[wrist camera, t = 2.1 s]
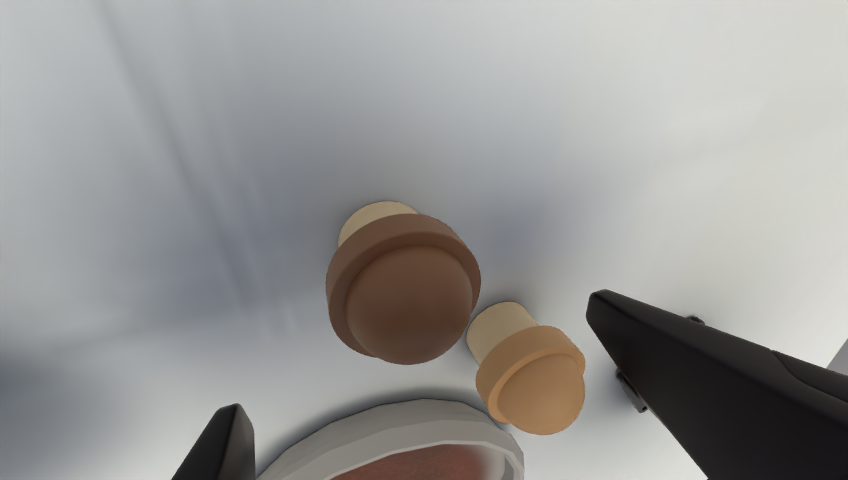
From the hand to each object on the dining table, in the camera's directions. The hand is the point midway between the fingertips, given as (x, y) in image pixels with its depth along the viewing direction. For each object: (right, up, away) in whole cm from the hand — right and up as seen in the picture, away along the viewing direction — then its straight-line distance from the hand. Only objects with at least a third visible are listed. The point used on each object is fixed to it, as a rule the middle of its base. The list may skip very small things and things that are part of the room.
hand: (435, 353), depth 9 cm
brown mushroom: (-2, +3, +5) cm, 6 cm away
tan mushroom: (+3, -2, +9) cm, 10 cm away
